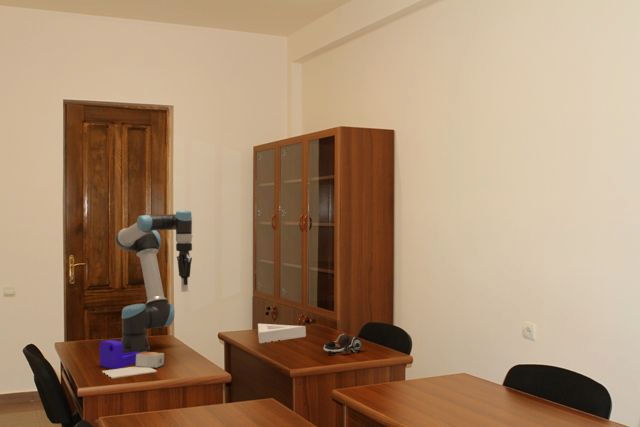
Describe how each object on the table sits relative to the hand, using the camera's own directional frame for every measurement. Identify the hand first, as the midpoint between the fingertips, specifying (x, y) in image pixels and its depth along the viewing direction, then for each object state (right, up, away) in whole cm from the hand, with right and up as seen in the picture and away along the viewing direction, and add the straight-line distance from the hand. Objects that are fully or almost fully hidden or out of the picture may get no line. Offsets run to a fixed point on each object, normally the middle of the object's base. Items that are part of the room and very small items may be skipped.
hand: (184, 291), depth 351 cm
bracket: (-26, -33, -12) cm, 44 cm away
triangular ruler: (+45, -32, +49) cm, 74 cm away
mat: (-19, -33, -29) cm, 48 cm away
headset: (+76, -31, +8) cm, 82 cm away
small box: (-7, -29, -19) cm, 36 cm away
